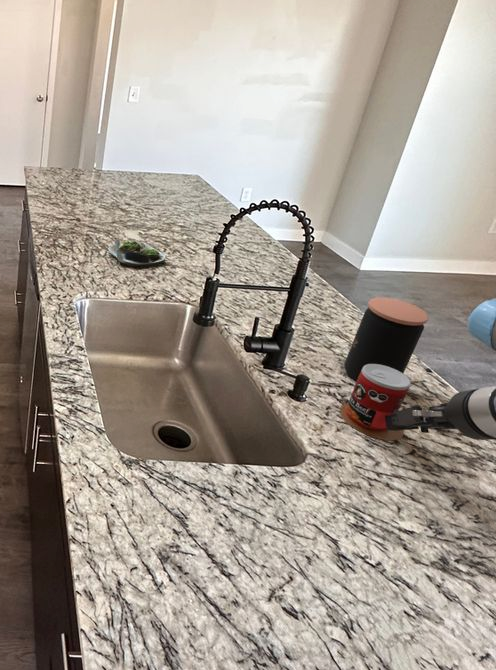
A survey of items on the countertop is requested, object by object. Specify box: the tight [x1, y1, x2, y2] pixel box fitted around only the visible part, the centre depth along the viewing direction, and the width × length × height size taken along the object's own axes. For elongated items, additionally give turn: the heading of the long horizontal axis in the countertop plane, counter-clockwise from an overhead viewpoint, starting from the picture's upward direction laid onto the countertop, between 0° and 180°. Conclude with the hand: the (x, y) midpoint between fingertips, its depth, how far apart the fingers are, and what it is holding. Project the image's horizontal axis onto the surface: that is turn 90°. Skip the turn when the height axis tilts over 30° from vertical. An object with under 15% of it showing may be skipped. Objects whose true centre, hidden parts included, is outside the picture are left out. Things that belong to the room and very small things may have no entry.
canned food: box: [346, 364, 412, 431], centre depth 107 cm, size 8×8×11 cm
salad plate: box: [108, 239, 166, 269], centre depth 179 cm, size 19×18×5 cm
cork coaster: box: [339, 402, 405, 441], centre depth 109 cm, size 11×11×1 cm
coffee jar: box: [344, 296, 430, 383], centre depth 119 cm, size 11×11×18 cm
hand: (389, 423), depth 103 cm, fingers closed
